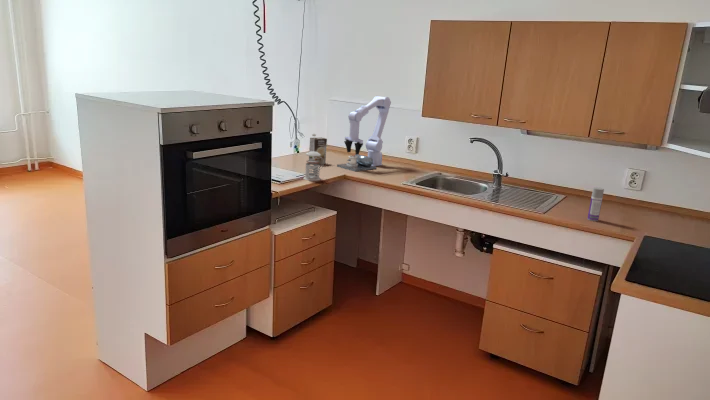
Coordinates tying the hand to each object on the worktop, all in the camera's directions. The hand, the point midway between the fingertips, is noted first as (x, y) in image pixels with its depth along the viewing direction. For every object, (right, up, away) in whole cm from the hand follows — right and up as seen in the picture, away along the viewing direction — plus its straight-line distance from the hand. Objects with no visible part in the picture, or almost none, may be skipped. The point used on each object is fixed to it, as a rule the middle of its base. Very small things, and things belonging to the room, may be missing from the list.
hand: (353, 153), depth 323 cm
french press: (-22, -17, -34) cm, 44 cm away
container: (+112, -38, -81) cm, 143 cm away
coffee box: (-23, -6, +10) cm, 26 cm away
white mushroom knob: (0, -8, +2) cm, 8 cm away
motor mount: (+2, -9, +4) cm, 10 cm away
